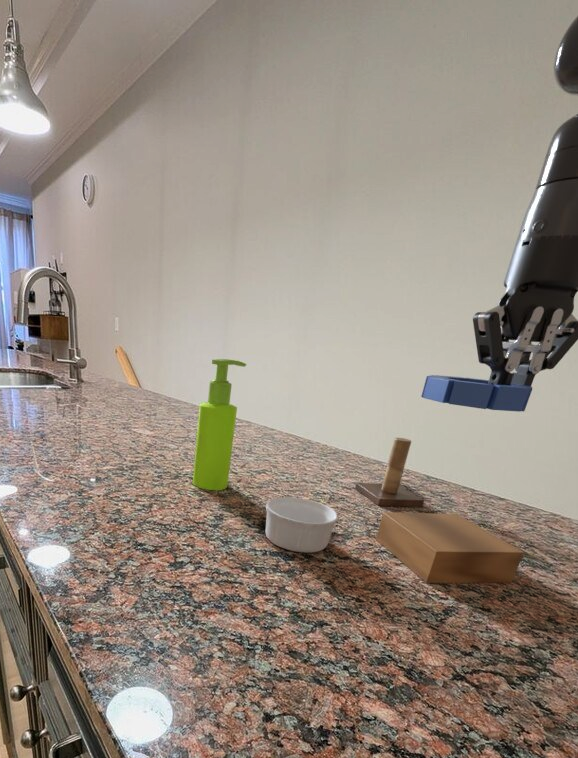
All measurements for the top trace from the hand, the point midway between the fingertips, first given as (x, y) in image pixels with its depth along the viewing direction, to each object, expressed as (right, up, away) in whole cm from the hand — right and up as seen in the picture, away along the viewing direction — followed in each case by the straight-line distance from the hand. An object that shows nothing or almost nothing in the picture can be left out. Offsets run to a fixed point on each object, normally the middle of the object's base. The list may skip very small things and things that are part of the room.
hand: (502, 404), depth 54 cm
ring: (-4, 0, -1) cm, 4 cm away
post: (-4, -11, +23) cm, 25 cm away
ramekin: (-24, -17, +4) cm, 30 cm away
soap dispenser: (-34, -8, +21) cm, 41 cm away
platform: (-7, -19, +2) cm, 20 cm away
